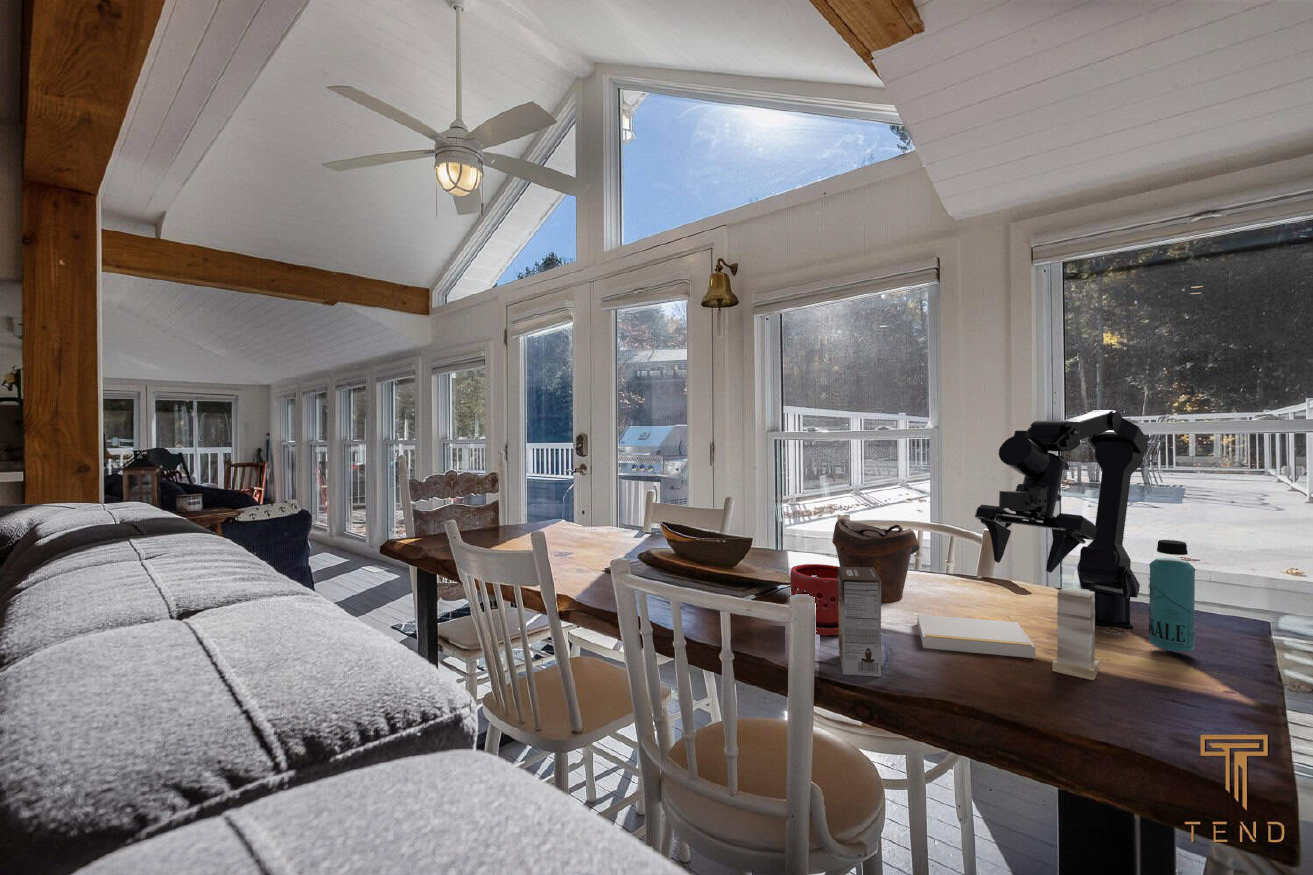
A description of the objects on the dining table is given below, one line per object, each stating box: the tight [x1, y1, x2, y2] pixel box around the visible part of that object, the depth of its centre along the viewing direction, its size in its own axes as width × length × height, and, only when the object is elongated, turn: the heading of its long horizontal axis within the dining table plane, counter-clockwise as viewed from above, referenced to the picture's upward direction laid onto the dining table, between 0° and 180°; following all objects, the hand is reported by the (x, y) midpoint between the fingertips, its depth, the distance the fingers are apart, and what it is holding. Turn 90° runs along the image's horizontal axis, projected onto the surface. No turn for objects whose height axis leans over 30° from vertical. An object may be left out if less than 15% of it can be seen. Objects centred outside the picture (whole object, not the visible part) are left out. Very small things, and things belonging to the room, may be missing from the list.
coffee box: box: [838, 566, 882, 678], centre depth 106 cm, size 9×6×16 cm
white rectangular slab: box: [916, 614, 1036, 659], centre depth 118 cm, size 18×14×2 cm
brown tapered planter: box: [831, 518, 921, 603], centre depth 148 cm, size 18×20×18 cm
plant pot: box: [789, 563, 839, 636], centre depth 125 cm, size 13×13×12 cm
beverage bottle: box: [1148, 539, 1197, 652], centre depth 109 cm, size 6×7×20 cm
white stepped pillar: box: [1052, 587, 1101, 681], centre depth 102 cm, size 6×6×13 cm
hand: (1021, 566), depth 111 cm, fingers open, 9 cm apart
